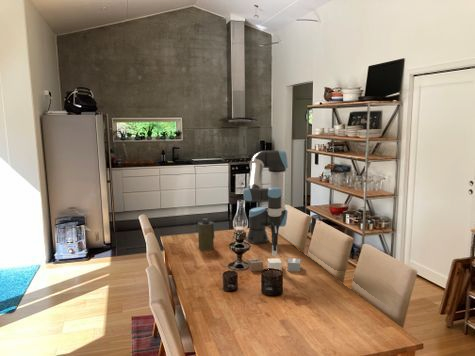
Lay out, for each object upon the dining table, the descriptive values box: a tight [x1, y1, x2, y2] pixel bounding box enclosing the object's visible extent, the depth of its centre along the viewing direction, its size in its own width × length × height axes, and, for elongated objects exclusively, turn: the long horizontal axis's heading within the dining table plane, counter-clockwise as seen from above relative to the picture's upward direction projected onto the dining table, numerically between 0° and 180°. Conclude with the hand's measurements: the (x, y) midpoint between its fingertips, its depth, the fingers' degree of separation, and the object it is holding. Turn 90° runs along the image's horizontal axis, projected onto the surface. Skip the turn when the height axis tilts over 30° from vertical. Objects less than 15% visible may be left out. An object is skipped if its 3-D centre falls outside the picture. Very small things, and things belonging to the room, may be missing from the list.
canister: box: [197, 218, 215, 251], centre depth 255 cm, size 11×10×20 cm
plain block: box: [267, 257, 283, 272], centre depth 218 cm, size 7×7×5 cm
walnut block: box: [247, 257, 264, 272], centre depth 219 cm, size 7×7×5 cm
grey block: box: [287, 257, 301, 273], centre depth 217 cm, size 7×7×5 cm
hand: (274, 255), depth 217 cm, fingers closed
